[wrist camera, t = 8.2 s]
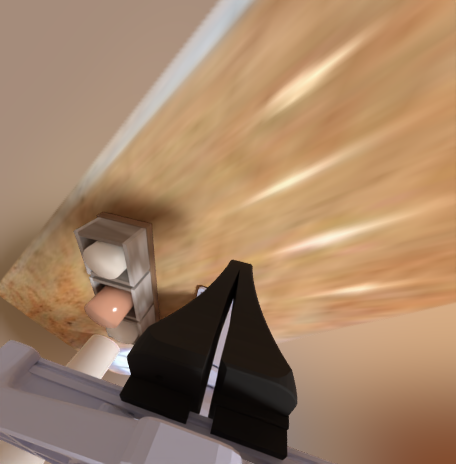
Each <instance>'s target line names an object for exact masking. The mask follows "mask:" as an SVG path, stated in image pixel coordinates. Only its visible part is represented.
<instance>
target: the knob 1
mask: <svg viewBox="0 0 456 464" xmlns="http://www.w3.org/2000/svg"><path fill="white" fill-rule="evenodd" d="M83 258H84V261H85V263H86V264H87V266H88V267H89V268H90V269H91V270H92V271H93V272H94V273H96V274H97V275H99V276H101V277H103V278H106V279H115V278H117V277H118V276H119V275H120V274H121V273H122V272H123V271H124V270H125V269H126V268H127V266H126V261H125V255H124V250H123V247H120V246H116V245H112V244H109V243H105V242H101V241H96V242H95V243H93V244H92V245H90V246H89V247H87V248H86V249H85V250H84V252H83Z"/></svg>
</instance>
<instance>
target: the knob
mask: <svg viewBox="0 0 456 464" xmlns="http://www.w3.org/2000/svg"><path fill="white" fill-rule="evenodd" d="M107 332H108V333H109V334H110V336H112V337H113V338H114V339H116V340H117V341H119V342H122V343H125V344H132V343H134V341H135V340H136V338H137V337H138V335H139V331H138V325H135V324H132V323H129V322H126V321H121V322H120V324H119V325H118V326H117V327H116V328H107Z"/></svg>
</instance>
